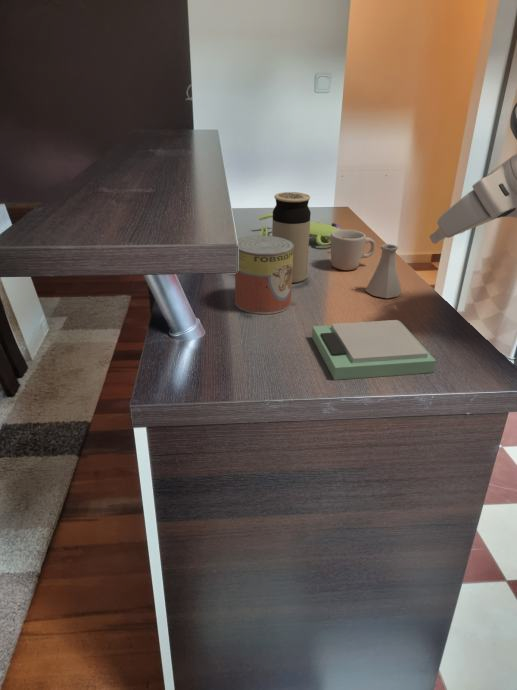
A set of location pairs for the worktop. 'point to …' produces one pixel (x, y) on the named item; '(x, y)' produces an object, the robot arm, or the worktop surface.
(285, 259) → the canned food
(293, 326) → the worktop surface
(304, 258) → the travel mug
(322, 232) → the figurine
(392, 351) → the scale
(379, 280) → the flask
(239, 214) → the worktop surface
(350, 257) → the cup
